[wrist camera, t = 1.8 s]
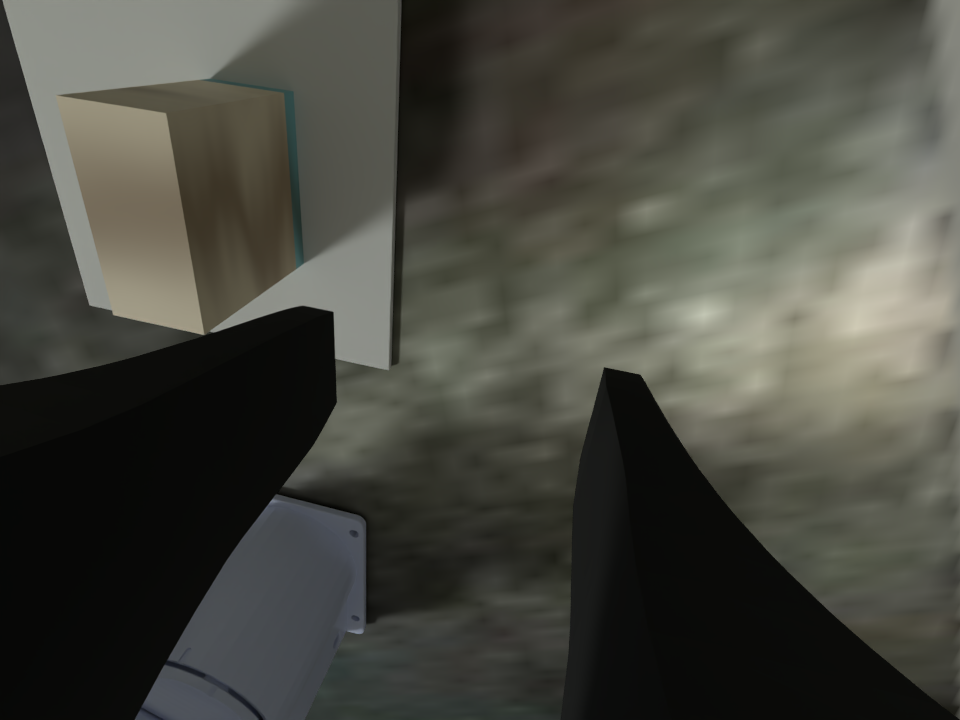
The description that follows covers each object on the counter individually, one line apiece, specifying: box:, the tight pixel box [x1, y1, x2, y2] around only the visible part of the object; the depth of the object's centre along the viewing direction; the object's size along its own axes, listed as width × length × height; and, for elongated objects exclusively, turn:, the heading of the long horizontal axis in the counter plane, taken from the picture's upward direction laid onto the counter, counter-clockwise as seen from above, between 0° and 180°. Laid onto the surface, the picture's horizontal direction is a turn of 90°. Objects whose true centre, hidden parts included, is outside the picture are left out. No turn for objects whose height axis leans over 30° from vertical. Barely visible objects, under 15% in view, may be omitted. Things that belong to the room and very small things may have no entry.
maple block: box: [56, 79, 304, 335], centre depth 17 cm, size 6×3×6 cm, turn 174°
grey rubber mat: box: [3, 0, 402, 370], centre depth 20 cm, size 14×14×1 cm
